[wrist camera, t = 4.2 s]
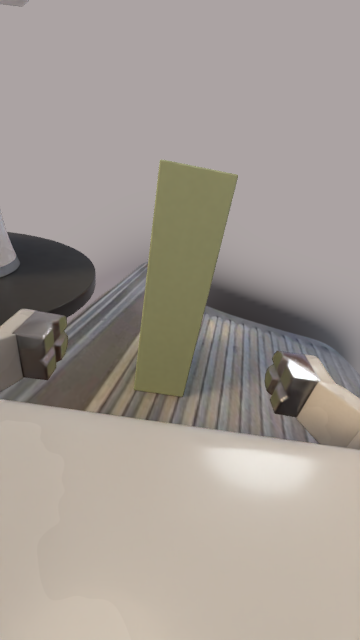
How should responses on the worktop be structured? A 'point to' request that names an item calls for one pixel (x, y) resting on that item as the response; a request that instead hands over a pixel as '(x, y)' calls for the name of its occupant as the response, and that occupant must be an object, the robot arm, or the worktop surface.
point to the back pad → (180, 271)
